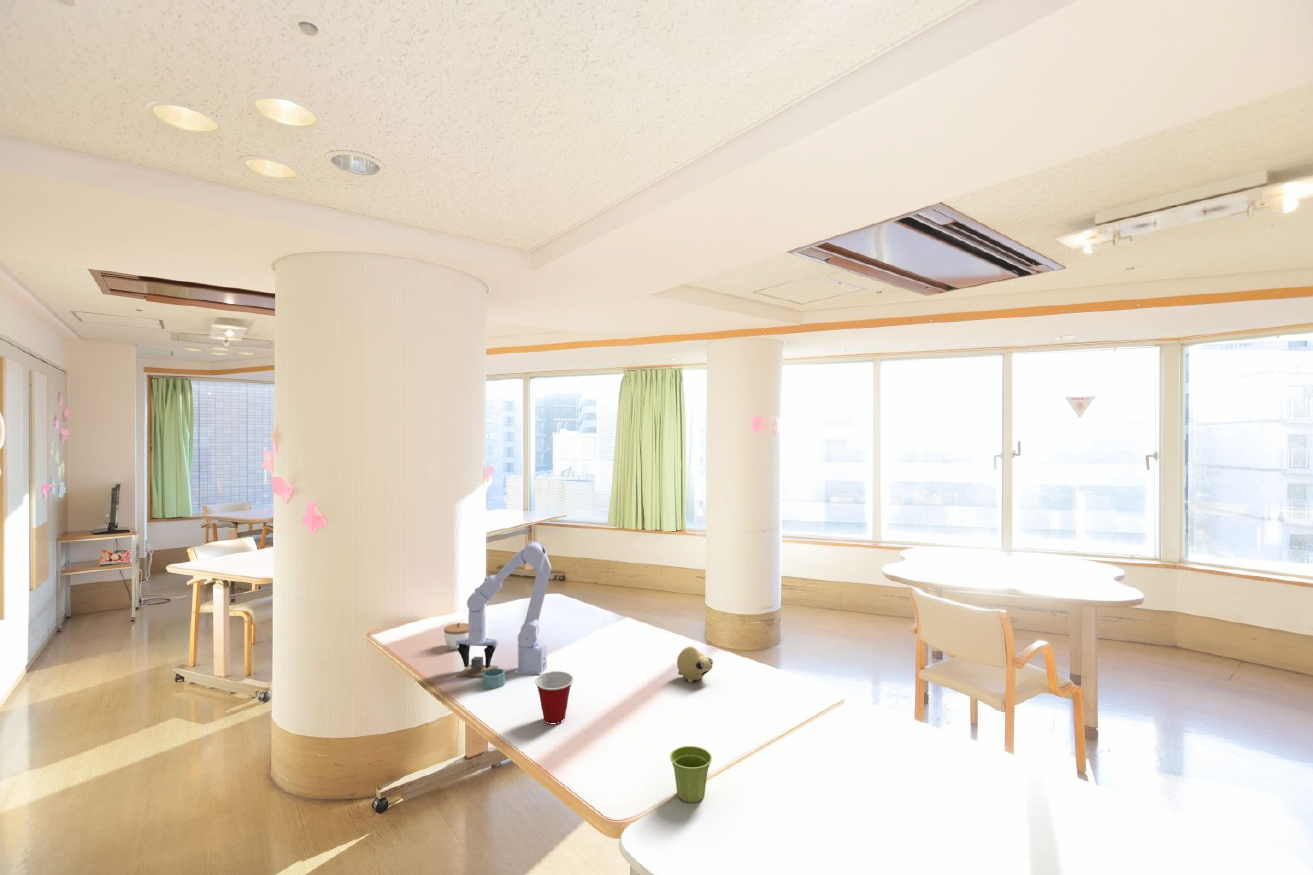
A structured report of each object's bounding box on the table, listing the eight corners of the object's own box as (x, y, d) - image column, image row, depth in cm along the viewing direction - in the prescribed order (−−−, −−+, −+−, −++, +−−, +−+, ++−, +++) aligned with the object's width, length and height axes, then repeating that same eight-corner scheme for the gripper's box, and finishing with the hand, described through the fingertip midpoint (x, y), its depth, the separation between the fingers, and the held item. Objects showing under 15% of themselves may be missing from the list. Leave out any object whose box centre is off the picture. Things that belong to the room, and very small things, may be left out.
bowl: (508, 681, 200) (508, 668, 200) (500, 690, 193) (500, 676, 193) (487, 680, 200) (487, 667, 200) (479, 689, 193) (479, 676, 193)
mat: (498, 667, 212) (498, 666, 212) (486, 679, 202) (486, 678, 202) (469, 665, 214) (469, 665, 214) (454, 677, 203) (454, 677, 203)
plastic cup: (536, 731, 165) (536, 687, 165) (533, 714, 175) (533, 673, 175) (576, 726, 168) (576, 683, 168) (571, 709, 178) (571, 669, 178)
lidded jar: (477, 642, 238) (477, 619, 238) (466, 652, 228) (466, 627, 228) (451, 642, 239) (451, 618, 240) (439, 651, 229) (439, 626, 229)
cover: (494, 667, 212) (494, 654, 212) (484, 677, 203) (484, 663, 203) (470, 666, 213) (470, 653, 213) (459, 676, 204) (459, 662, 204)
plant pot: (709, 782, 140) (709, 745, 140) (714, 807, 130) (714, 767, 130) (669, 783, 139) (668, 746, 139) (671, 808, 130) (671, 768, 130)
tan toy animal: (697, 689, 192) (697, 656, 192) (671, 679, 201) (671, 647, 201) (718, 681, 199) (717, 648, 199) (691, 671, 207) (691, 640, 207)
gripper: (501, 624, 211) (501, 663, 211) (462, 623, 213) (462, 661, 212) (493, 630, 204) (493, 670, 204) (453, 629, 206) (453, 669, 205)
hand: (477, 666), depth 208 cm, fingers open, 7 cm apart
